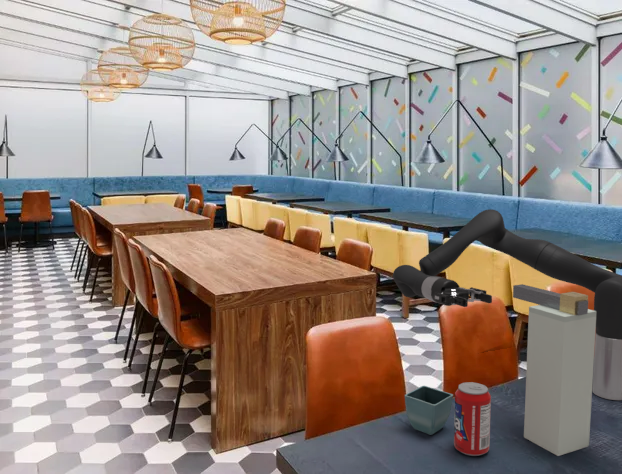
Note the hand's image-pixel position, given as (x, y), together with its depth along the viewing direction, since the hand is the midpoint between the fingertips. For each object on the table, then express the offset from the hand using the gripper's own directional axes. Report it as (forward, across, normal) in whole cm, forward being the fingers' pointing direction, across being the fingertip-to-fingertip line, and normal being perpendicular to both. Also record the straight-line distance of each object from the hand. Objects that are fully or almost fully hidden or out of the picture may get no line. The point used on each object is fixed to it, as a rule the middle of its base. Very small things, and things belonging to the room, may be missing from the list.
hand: (478, 301), depth 156 cm
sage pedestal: (+26, 0, -28) cm, 39 cm away
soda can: (+20, +20, -29) cm, 40 cm away
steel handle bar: (+23, 0, +4) cm, 23 cm away
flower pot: (+7, +22, -28) cm, 37 cm away
